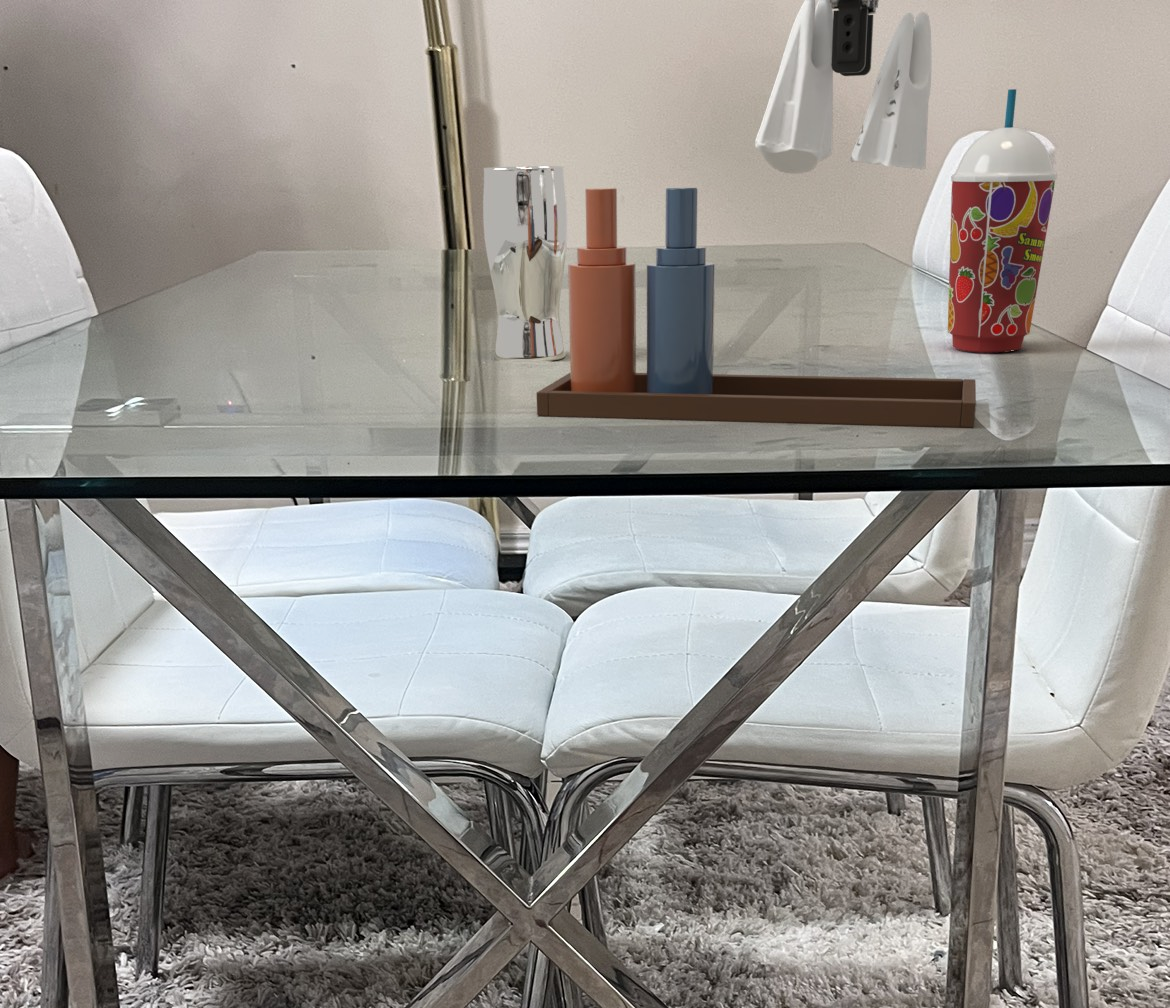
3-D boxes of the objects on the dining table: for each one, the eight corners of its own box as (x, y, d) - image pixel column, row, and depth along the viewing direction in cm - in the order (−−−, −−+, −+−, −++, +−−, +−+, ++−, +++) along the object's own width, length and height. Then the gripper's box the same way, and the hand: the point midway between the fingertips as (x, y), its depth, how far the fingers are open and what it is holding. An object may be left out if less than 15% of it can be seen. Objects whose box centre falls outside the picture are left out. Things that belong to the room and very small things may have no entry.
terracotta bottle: (642, 400, 96) (642, 186, 90) (628, 411, 92) (627, 189, 87) (580, 398, 97) (576, 187, 91) (563, 410, 93) (558, 190, 88)
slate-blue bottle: (717, 402, 95) (722, 186, 89) (706, 413, 91) (710, 188, 85) (653, 400, 96) (654, 186, 90) (640, 412, 92) (640, 189, 86)
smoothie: (1035, 356, 115) (1065, 86, 107) (932, 354, 118) (953, 89, 110) (1039, 343, 123) (1068, 89, 114) (942, 341, 125) (963, 92, 117)
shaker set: (754, 176, 98) (757, -5, 93) (755, 174, 102) (759, 0, 97) (929, 170, 96) (941, -14, 92) (924, 169, 100) (936, -8, 95)
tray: (972, 411, 93) (975, 379, 92) (972, 437, 85) (975, 402, 84) (572, 401, 100) (571, 371, 99) (537, 425, 92) (536, 392, 91)
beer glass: (552, 364, 116) (547, 167, 110) (476, 362, 118) (466, 168, 112) (582, 353, 122) (578, 165, 116) (508, 350, 124) (501, 166, 118)
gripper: (919, -261, 82) (900, 67, 89) (929, -208, 95) (912, 76, 102) (791, -248, 84) (782, 72, 91) (818, -198, 96) (808, 80, 103)
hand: (851, 72), depth 96 cm, fingers closed on shaker set, 4 cm apart
